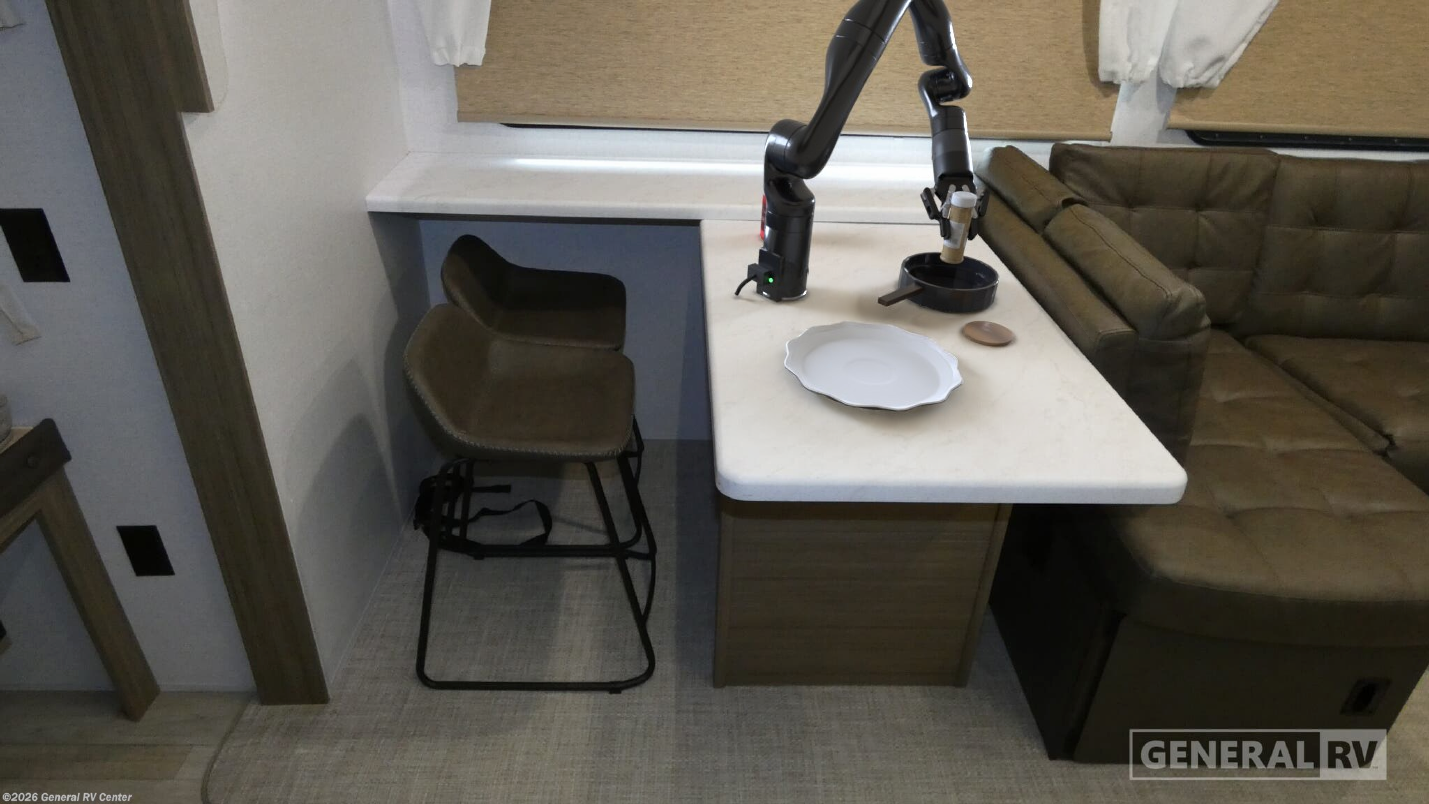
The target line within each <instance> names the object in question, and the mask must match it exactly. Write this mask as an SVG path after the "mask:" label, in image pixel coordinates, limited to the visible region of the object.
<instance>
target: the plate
mask: <svg viewBox="0 0 1429 804" xmlns="http://www.w3.org/2000/svg"><path fill="white" fill-rule="evenodd" d="M785 350H786V356H785V358H784V361H783V366H784V368H785V370H787V371H789V372H790V373H791V375H794V376H795V377H796V378H797V379H798V381H799V383H800V384H801V385H802V387H803V388H804V389H806V390H808V391H809V392H812V393H815V394H818V395H821V396H824V397H826V398H828V399H830V400H832V401H834V402H837V403H840V404H842V405H844V406H847V407H852V408H859V409H864V410H870V411H871V410H872V411H887V412H907V411H910V410H913V409H916V408H920V407H925V406H931V405H939V404H942V403H945V402H946V401H947V400H948V398H949V396H950V395H951V393H952V392H953V391H954V390H956V389H958V388H959V387H961V386H962V385H963V382H964V378H963V376H962V375H961V372H960V371H959V359H958V358H957V357H956V356H955V355H954V354H952V353H950V352H948V351H947V350H945V349H943V348H942V347H941V346H940V345H939V344H938V343H936V341H935V340H934V339H932V338H930V337H928V336H926V335H922V334H920V333H919V334H918V333H915V332H910V331H907V330H905V329H903V328H901V327H898V326H896V325H892V324H888V323H869V322H868V323H867V322H861V321H855V320H843V321H839V322H836V323H832V324H823V325H822V324H821V325H814V326H810V327H807V328H806V329H805V330H804V331H803V332H802V333H801V334H800V335H798V336H796V337H793V338H792V339H790V340H787V342H786V343H785Z"/></svg>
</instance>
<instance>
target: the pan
mask: <svg viewBox="0 0 1429 804" xmlns="http://www.w3.org/2000/svg"><path fill="white" fill-rule="evenodd" d="M941 253H942V251H926V252H918V253H915V254H911V255H908V256H907V257H905V258H904V259H903V260H902V262H901V264H900V268H899V269H900V270H899V275H898V281H897V290H899V289H901V288H904V287H906V286H909V285H911V284H914V283H915V284H917V285H919V286H922V287H923V291H922V293H920V294H918V295H915V296H913V297H910V298H908V299H907V300H908V301H909V302H911V303H913V304H915V305H918V306H920V307H923V308H926V309H930V310H933V311H938V312H944V313H953V314H967V313H976V312H980V311H981V312H982V311H984V310H986V309H988V308H990V307H991V306H992V305H993V304H994V302H995V298H996V294H997V290H998V286H999V281H1000V275H999V273H998V271H997V270H996V269H995V268H993V267H992V265H989V264H988V263H986V262H984V261H983V260H980V259H977V258H974V257H971V256H967V255H965V254H964V255H963V261H962V262H961V263H958V264H951V263H947V262H944V261H942V260H941V258H940V256H941Z"/></svg>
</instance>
